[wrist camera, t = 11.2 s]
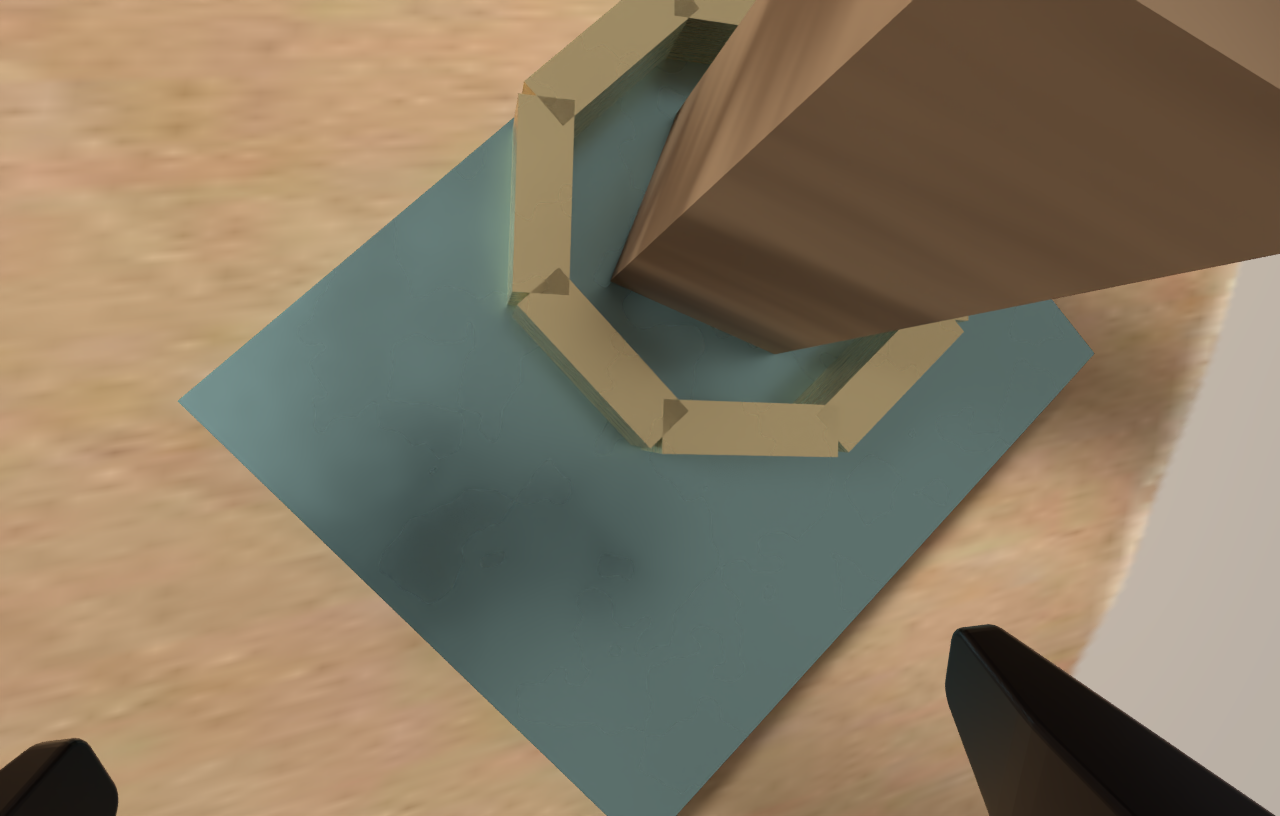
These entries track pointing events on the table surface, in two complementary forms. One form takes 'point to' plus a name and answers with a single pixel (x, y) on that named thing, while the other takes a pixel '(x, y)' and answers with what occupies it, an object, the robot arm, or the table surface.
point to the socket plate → (611, 436)
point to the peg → (958, 161)
